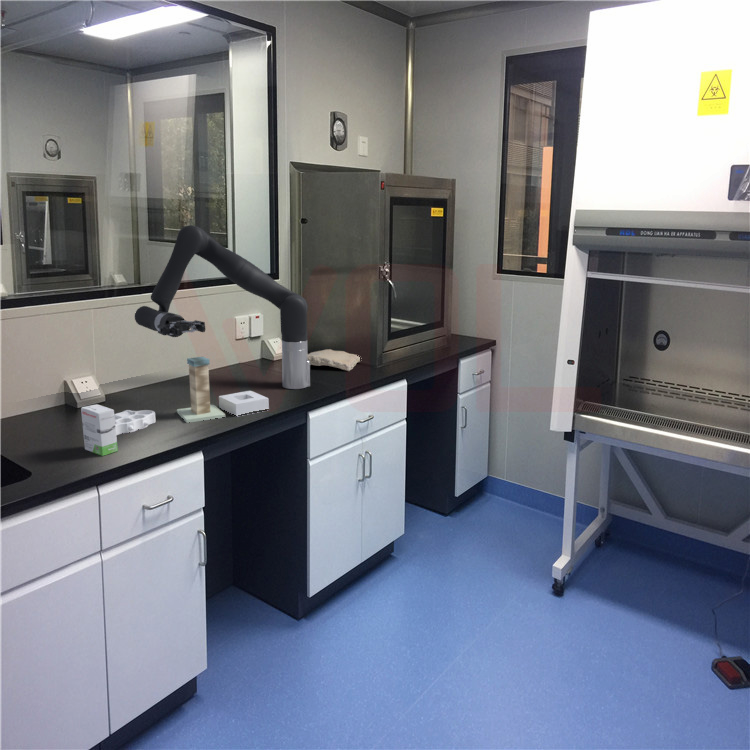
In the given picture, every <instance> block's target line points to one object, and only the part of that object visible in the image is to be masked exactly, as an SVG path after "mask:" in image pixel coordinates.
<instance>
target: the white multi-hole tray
mask: <svg viewBox="0 0 750 750" xmlns="http://www.w3.org/2000/svg"><path fill="white" fill-rule="evenodd" d="M114 417H115V426H116V436H119V435H121V434H122V433H123V434H130V433H134V432H136V431H138V429H139V430H142V429H146V428H148V426H149V425H151V424H155V423H156V422H157V421H156V412H155V411H154V410H151V409H150V410H149V409H144V410H132V409H131V410H130V409H126V410H125V409H124V410H123V411H122V412H117V413H114ZM129 432H130V433H129Z"/></svg>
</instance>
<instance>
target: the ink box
mask: <svg viewBox="0 0 750 750" xmlns="http://www.w3.org/2000/svg"><path fill="white" fill-rule="evenodd" d="M80 411H81V412H80V413H81V422H82V423H81V424H82V432H83V441H84V442H83V443H84V450H85V451H89V452H90V453H93V454H96V455H98V456H102V457H103V456H107V455H110V454H113V453H116V452H118V451H119V447H118V438H117V436H118V435H116V426H115V417H114V414H115V410H114V409H112V408H109V407H106V406H104V405H100V404H99V403H98V404H97V403H96V404H91V405H87V406H82V407H81V408H80Z"/></svg>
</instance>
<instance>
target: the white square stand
mask: <svg viewBox="0 0 750 750" xmlns="http://www.w3.org/2000/svg"><path fill="white" fill-rule="evenodd" d="M269 403H270V400H269V398H268V397H267V396H264V395H262V394H260V393H258V392H255V391H253V390H245V391H240V392H234V393H229V394H223V395H218V408H219V409H220V408H221V409H220V410H221V411H222V410H223V411H224V410H225V412H226V411H227V412H226V413H228V412H229V413H228V414H230V413H231V414H230V415H232V414H234V415H236V416H237V417H239V416H238V415H241V414H245V413H249V412H253V411H259V410H265V409H269V410H270V405H269ZM234 415H233V416H234ZM236 416H235V417H236Z"/></svg>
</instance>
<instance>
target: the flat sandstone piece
mask: <svg viewBox="0 0 750 750" xmlns="http://www.w3.org/2000/svg"><path fill="white" fill-rule="evenodd" d="M357 355H358V354H354V353H349V352H346V351H344V350H333V349H331V348H329V349H323V350H316V351H313V352H312V351H311V352H310V353H308V360H309V361H310V366H318V367H320V366H329V367H333V368H336V369H337V368H338V369H340V370H343V371H345V372H346V371H347V372H350V371H351V370H353V369H354V367H355V366H356V365H358V364H357V363H360V362H361V361H360V357H361V356H360V355H358V356H357ZM359 356H360V357H359Z"/></svg>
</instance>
